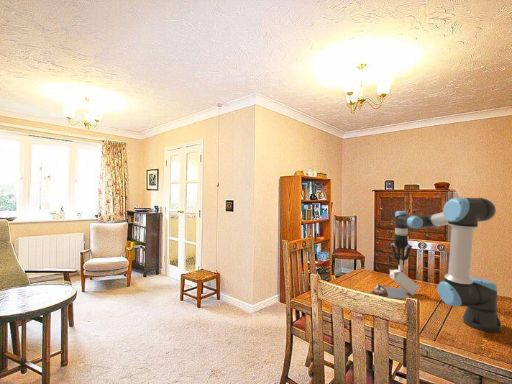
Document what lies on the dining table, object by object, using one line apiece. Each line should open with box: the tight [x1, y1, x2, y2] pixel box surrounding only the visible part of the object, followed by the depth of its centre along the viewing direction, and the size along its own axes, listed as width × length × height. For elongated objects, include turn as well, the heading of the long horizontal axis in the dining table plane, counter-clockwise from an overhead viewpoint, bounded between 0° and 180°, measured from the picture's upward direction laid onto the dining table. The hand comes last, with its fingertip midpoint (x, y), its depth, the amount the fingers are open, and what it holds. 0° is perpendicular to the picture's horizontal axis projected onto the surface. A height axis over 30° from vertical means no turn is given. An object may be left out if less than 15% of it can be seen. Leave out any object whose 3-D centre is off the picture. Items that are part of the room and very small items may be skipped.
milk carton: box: [389, 269, 421, 296], centre depth 181 cm, size 7×7×19 cm
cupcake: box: [370, 284, 388, 297], centre depth 167 cm, size 10×10×10 cm
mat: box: [385, 286, 411, 300], centre depth 182 cm, size 20×17×1 cm
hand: (400, 269), depth 181 cm, fingers closed
